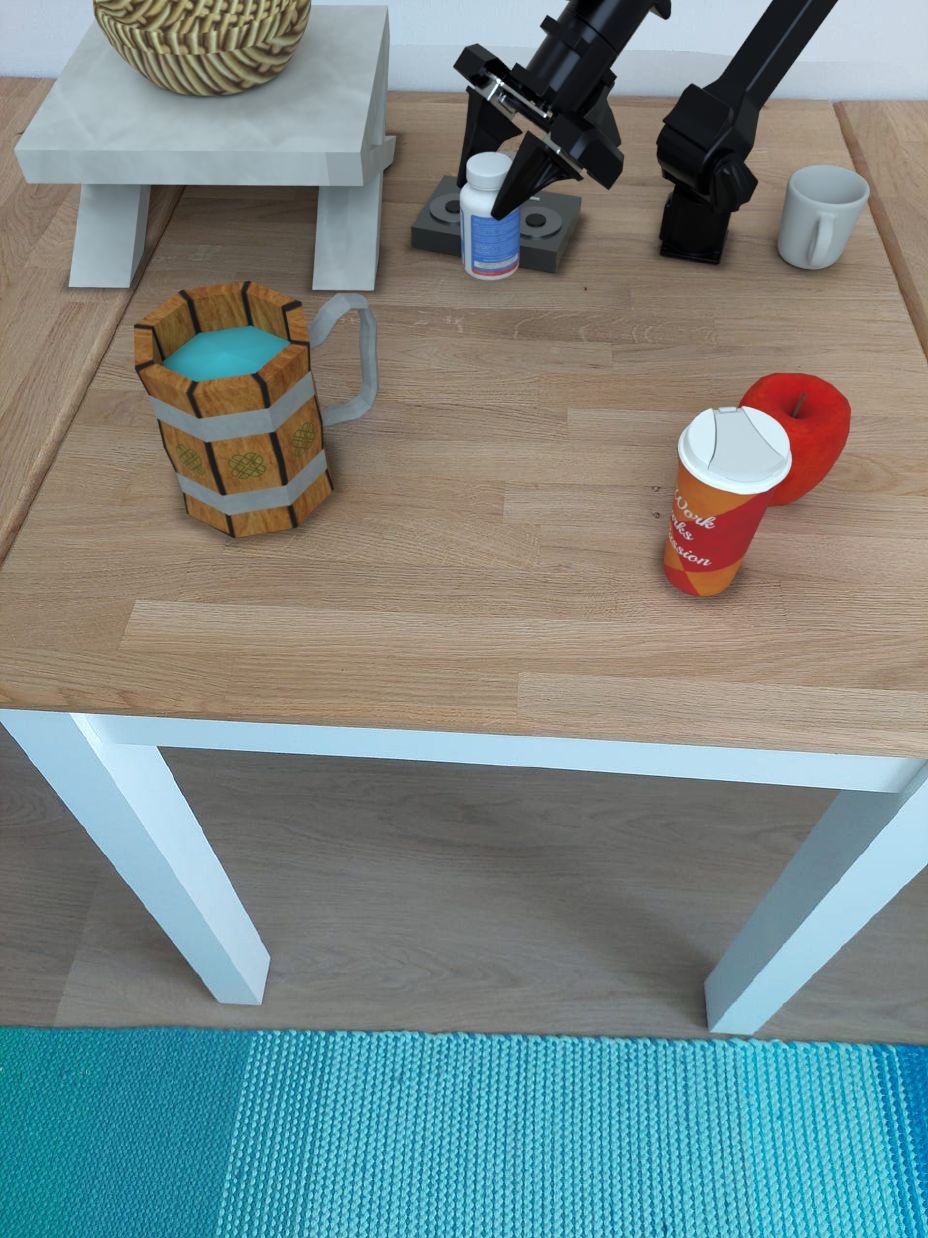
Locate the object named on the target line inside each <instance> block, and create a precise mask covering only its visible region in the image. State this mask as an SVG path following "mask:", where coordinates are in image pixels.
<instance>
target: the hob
mask: <svg viewBox="0 0 928 1238" xmlns="http://www.w3.org/2000/svg"><path fill="white" fill-rule="evenodd" d="M457 177H458V176H453V175H448V174H443V175H442V177H441V179H440V180H439V182H438V184H437V185H436V186H435V188H434V190H433V191H432V193H431V194H430V196H429V197H428V199H427V201H426V203H425V204H424V206H423V207H422V208H421V210H420V212H419V213H418V214H417V216H416V217H415V220H413V223H412V224H411V226H410V232H411V247H412V249H417V250H423V251H428V252H434V253H439V254H444V255H445V254H446V255H450V256H454V257H455V256H456V257H461V258H462V250H461V224H449V223H444V222H441V221H438V220H436V219H435V218H434V217H433V216H432V215H431V214H430V209H429V207H430V204H431V202H432V201H433V200H434V199H436V198H437V197H439V196H442V195H445V194H451V193H461V189H460V188H459V187H458V186H457V184H456V183H457ZM582 200H583V197H582V196H577V195H572V194H565V193H559V192H553V191H547V190H541V191H539V192H538V193H536V194H535V195H534V196H532V197H531V198H530V199H528V200H527V201H526V202H524V203H523V204H522V205H521V209H522V208H525V207H532V206H538V207H545V208H549V209H551V210H553V211H555V212H557V213H558V214H559V215H560V216H561V218H562V226H561V228H560V230H559V231H558V232H557V233H555V234H553V235H551V236H548V237H543V238H530V237H525V236H522V235H520V258H519V265H518V268H523V269H529V270H534V271H540V272H546V273H551V274H556V273H557V270H558V268H559V266H560V263H561V261H562V259H563V256H564V254H565V253H566V250H567V248H568V245H569V243H570V242H571V239H572V237H573V235H574V233H575V230H576V228H577V226H578V223H579V222H580V219H581V213H582V212H581V211H582V202H583V201H582Z"/></svg>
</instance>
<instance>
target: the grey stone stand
mask: <svg viewBox="0 0 928 1238" xmlns="http://www.w3.org/2000/svg"><path fill="white" fill-rule="evenodd" d="M92 9H93V10H92V11H93V16H94V19H93V21H92V23H90V26H89V27H88V29H87V30H86V32H85V34H84V35H83V37H82V38H81V40H80V42H79V43H78V45H77V46H76V48H75V50H74V52H73V53H72V55H71V56H70V58H69V59H68V60H67V63H66V64H65V66H64V68H63V69H62V71H61V72H60V74H59V76H58V77H57V78H56V80H55V82H54V84H53V85H52V87H51V88H50V90H49V91H48V93H47V95H46V97H45V99H44V100H43V101H42V103H41V105H40V106H39V108H38V110H37V111H36V113H35V114H34V116H33V118H32V119H31V120H30V122H29V124H28V125H27V127H26V129H25V130H24V132H23V133H22V135H21V137H20V139H19V140H18V141H17V143H16V145H15V147H14V148H13V152H14V154H15V157H16V160H17V163H18V164H19V167H20V169H21V171H22V174H23V177H24V179H25V182H26V184H57V185H58V184H68V185H71V184H73V185H79V184H80V185H81V188H80V197H79V204H78V213H77V220H76V227H75V234H74V243H73V248H72V258H71V259H72V260H71V266H70V274H69V280H68V288H112V289H113V288H122V289H123V288H124V289H126V288H128V289H130V286H131V284H132V283H133V282H132V281H133V280H134V277H135V274H136V272H137V270H138V267H139V265H140V263H141V260H142V257H143V255H144V252H145V243H146V234H147V225H148V217H149V207H150V201H151V200H150V199H151V192H152V191H151V190H152V185H175V186H176V185H180V186H181V185H183V186H184V185H185V186H187V185H190V186H192V185H193V186H194V185H197V186H198V185H199V186H295V187H297V186H299V187H300V186H303V187H304V186H306V187H308V186H309V187H311V186H312V187H313V186H314V187H316V186H317V187H318V198H317V199H318V200H317V214H316V215H317V216H316V217H317V218H316V230H315V243H314V244H315V245H314V261H313V262H314V263H313V276H312V288H311V289H312V291H375V285H376V278H377V272H378V266H379V260H380V259H379V258H380V246H381V245H380V244H381V222H382V205H383V204H382V202H383V186H384V184H383V183H384V171H385V169H388V167H389V166H391V165H392V164H393V163H394V156H395V149H396V144H397V143H396V141H397V135H386V125H387V106H388V105H387V104H388V84H389V66H390V65H389V64H390V48H391V47H390V45H391V32H390V17H389V16H390V15H389V5H385V4H384V5H383V4H382V5H379V4H377V5H376V4H373V5H372V4H370V5H369V4H368V5H367V4H365V5H364V4H312V0H92Z"/></svg>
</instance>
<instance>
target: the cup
mask: <svg viewBox="0 0 928 1238" xmlns="http://www.w3.org/2000/svg"><path fill="white" fill-rule="evenodd" d="M870 188H871V187H870V185H869V183H868V182H867V180H866V179H865V178H864V177H863V176H861V175H860V174H859V173H857V172H856V171H853V170H851V169H848V168H846V167H843V166H839V165H833V164H823V163H822V164H819V163H818V164H811V165H806V166H803V167H800V168H798V169H796V170H795V171H793V173H791V175H790V176H789V178H788V181H787V184H786V191H785V195H784V202H783V208H782V213H781V218H780V223H779V224H780V225H779V232H778V237H777V250H778V253H779V255H780V257H781V258H782V259H783V260H784V261H785V262H786V263H788V264H790V265H791V266H794V267H796V268H800V269H804V270H823V269H826V268H828V267H831V266H832V265H833V264H835V263H837V261H838V259H839V258H840V257H841V256H842V254H843V252H844V251H845V248H846V246H847V244H848V243H849V240H850V238H851V235H852V234H853V231H854V229H855V227H856V225H857V223H858V221H859V220H860V217H861V215H862V213H863V211H864V208H865V206H866V205H867V202H868V200H869V197H870V194H871V189H870Z"/></svg>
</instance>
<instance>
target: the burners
mask: <svg viewBox="0 0 928 1238" xmlns="http://www.w3.org/2000/svg"><path fill="white" fill-rule="evenodd" d="M429 209H430V214H431V215H432V216H433V217H434V218H435V219H436V220H438V221H441V222H444V223H449V224H461V223H460V193H451V194H445V195H442V196H439V197H437V198H436V199H434V200H433V201H432V202H431V204H430V207H429ZM561 226H562V218H561V216H560V215H559V214H558V213H557V212H555V211H553V210H551V209H549V208H545V207H538V206H532V207H525V208H522V209H520V235H522V236H525V237H530V238H543V237H548V236H551V235H553V234H555V233H557V232H558V231H559V230H560V228H561Z"/></svg>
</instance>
